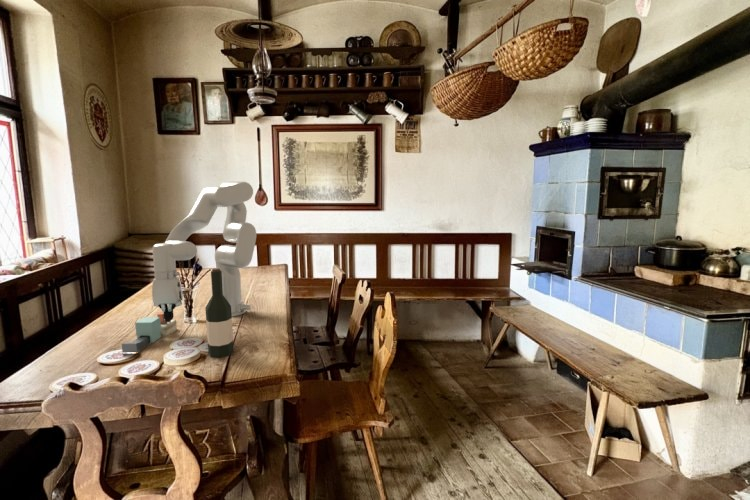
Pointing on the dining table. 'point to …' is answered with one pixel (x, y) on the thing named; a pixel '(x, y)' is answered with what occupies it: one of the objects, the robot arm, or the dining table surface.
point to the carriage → (149, 328)
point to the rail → (136, 344)
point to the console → (168, 327)
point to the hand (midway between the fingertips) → (169, 320)
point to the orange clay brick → (161, 317)
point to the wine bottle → (219, 319)
